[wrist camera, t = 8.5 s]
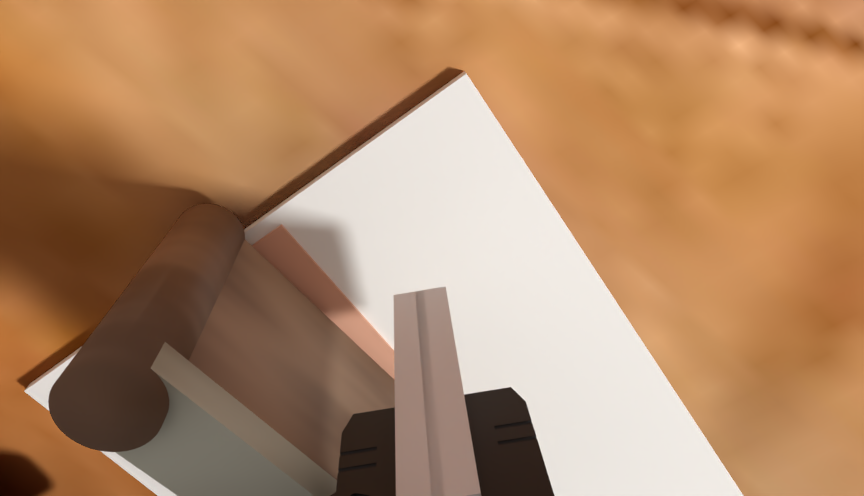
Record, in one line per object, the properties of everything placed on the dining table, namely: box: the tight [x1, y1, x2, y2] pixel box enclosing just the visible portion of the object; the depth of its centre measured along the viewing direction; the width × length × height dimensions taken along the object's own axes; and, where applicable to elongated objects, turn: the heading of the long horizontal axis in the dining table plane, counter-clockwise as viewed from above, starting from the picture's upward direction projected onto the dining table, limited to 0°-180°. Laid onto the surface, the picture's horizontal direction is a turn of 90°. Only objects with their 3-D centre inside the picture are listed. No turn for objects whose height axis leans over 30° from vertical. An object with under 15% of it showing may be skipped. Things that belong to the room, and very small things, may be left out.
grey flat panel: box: [48, 204, 395, 496], centre depth 16 cm, size 13×2×7 cm, turn 39°
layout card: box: [24, 71, 743, 496], centre depth 21 cm, size 16×19×1 cm
